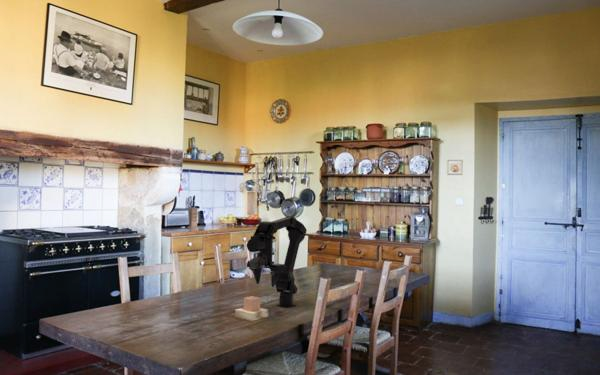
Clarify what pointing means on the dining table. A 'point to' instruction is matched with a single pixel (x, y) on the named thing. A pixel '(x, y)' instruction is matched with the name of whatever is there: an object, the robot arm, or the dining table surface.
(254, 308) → the cube
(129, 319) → the dining table surface
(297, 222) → the robot arm
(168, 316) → the dining table surface
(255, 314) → the base
